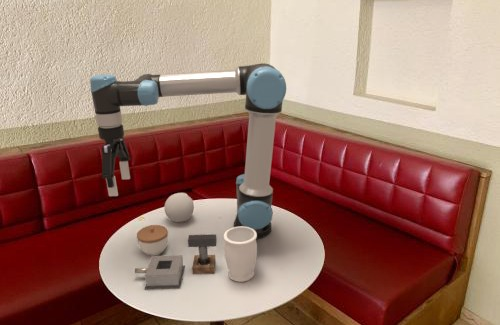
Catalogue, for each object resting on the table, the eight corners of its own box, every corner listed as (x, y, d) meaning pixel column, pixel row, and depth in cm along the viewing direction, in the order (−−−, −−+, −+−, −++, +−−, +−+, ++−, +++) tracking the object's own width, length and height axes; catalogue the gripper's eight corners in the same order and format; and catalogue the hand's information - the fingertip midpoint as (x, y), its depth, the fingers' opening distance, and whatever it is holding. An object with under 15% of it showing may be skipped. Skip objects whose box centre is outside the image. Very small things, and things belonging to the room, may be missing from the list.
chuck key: (217, 264, 129) (216, 234, 125) (217, 269, 126) (215, 238, 122) (191, 265, 128) (188, 235, 124) (190, 270, 126) (187, 239, 122)
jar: (246, 288, 117) (245, 247, 111) (219, 277, 122) (216, 237, 117) (263, 270, 125) (263, 231, 120) (237, 261, 130) (236, 222, 125)
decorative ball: (200, 219, 158) (199, 193, 154) (178, 230, 150) (175, 203, 146) (182, 210, 166) (180, 186, 162) (160, 221, 157) (157, 195, 153)
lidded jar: (162, 261, 131) (159, 237, 128) (133, 257, 133) (130, 234, 130) (174, 244, 141) (171, 222, 138) (147, 241, 143) (144, 219, 140)
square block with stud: (185, 266, 128) (184, 254, 126) (180, 288, 117) (178, 275, 116) (140, 268, 127) (138, 255, 126) (131, 289, 117) (129, 276, 115)
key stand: (215, 260, 131) (214, 254, 130) (213, 273, 124) (213, 267, 123) (195, 261, 130) (194, 255, 130) (192, 274, 124) (192, 267, 123)
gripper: (111, 116, 130) (120, 173, 138) (82, 136, 107) (95, 204, 115) (133, 115, 131) (141, 172, 138) (108, 136, 107) (119, 203, 115)
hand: (120, 186), depth 126 cm, fingers open, 13 cm apart
